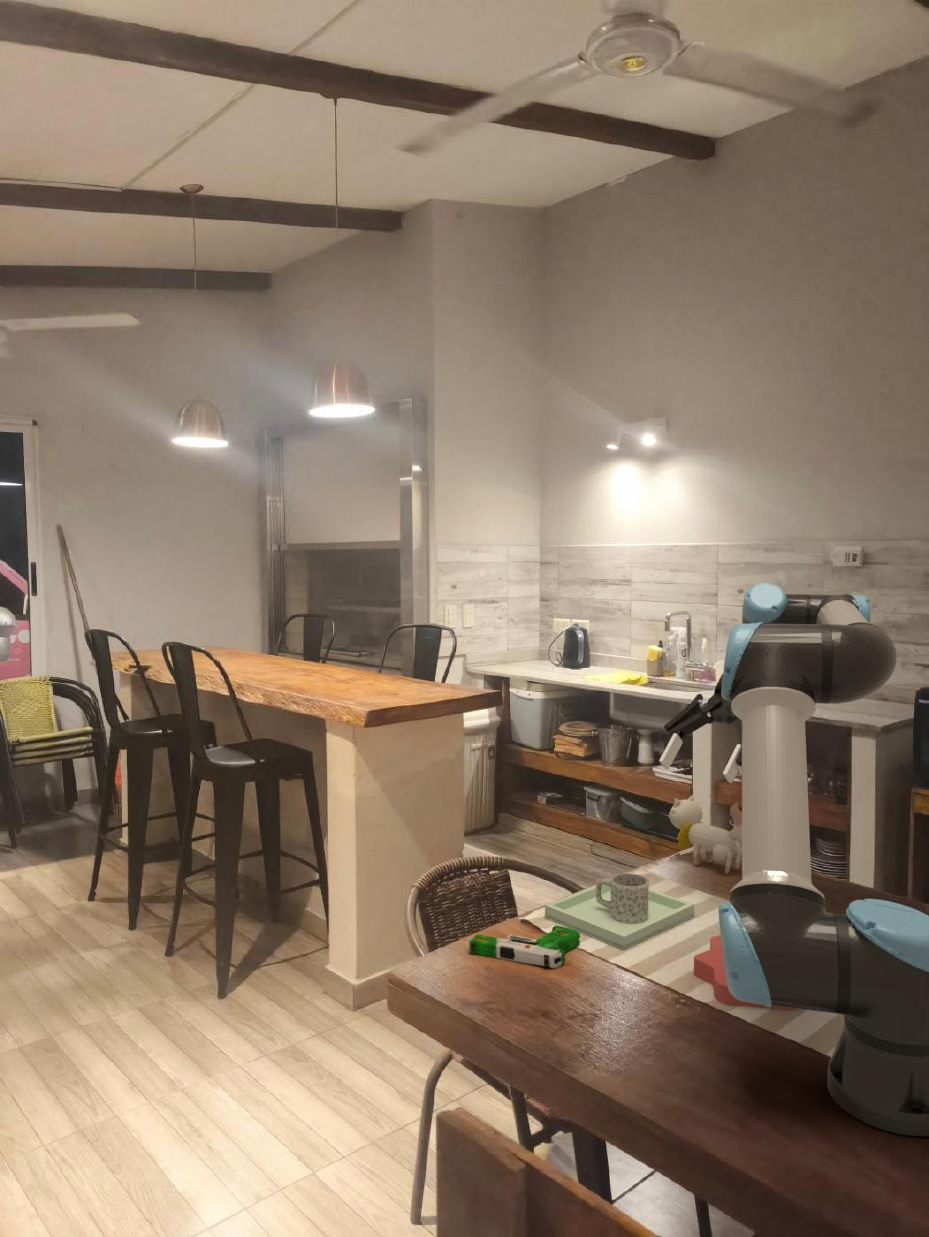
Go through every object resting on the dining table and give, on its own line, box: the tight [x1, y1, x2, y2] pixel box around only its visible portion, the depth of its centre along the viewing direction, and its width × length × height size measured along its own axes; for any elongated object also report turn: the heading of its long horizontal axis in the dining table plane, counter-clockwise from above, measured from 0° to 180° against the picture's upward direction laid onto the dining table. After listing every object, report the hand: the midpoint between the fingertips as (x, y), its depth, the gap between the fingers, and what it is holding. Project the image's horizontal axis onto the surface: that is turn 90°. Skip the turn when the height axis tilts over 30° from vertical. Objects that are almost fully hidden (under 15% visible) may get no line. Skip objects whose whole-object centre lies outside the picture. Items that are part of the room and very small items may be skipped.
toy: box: [668, 794, 742, 874], centre depth 193 cm, size 9×19×15 cm, turn 40°
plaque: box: [693, 935, 796, 1011], centre depth 146 cm, size 18×4×15 cm
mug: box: [595, 872, 650, 924], centre depth 169 cm, size 10×7×7 cm, turn 55°
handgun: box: [468, 924, 581, 969], centre depth 157 cm, size 3×16×12 cm
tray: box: [544, 884, 695, 951], centre depth 169 cm, size 20×18×2 cm
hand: (694, 771), depth 171 cm, fingers open, 13 cm apart
